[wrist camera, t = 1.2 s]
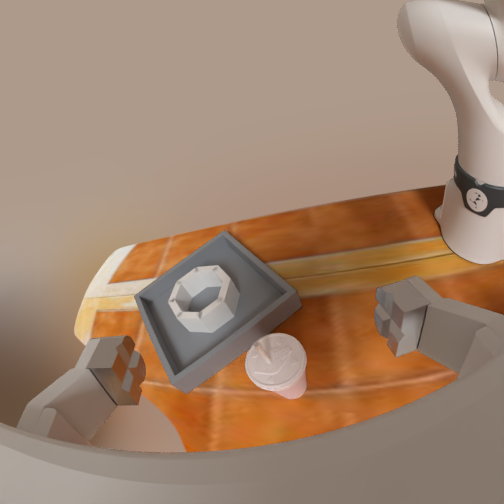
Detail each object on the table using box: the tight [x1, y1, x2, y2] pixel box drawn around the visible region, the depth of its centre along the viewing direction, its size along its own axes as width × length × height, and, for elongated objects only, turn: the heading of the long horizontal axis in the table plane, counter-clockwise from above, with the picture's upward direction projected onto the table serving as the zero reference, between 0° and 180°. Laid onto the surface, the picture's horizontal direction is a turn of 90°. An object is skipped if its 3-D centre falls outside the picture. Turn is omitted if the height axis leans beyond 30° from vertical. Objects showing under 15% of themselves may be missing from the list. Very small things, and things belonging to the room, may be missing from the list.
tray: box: [134, 230, 302, 394], centre depth 45 cm, size 22×22×5 cm
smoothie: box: [245, 333, 307, 399], centre depth 29 cm, size 6×6×14 cm
